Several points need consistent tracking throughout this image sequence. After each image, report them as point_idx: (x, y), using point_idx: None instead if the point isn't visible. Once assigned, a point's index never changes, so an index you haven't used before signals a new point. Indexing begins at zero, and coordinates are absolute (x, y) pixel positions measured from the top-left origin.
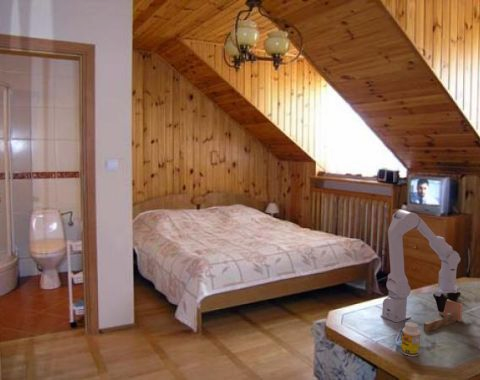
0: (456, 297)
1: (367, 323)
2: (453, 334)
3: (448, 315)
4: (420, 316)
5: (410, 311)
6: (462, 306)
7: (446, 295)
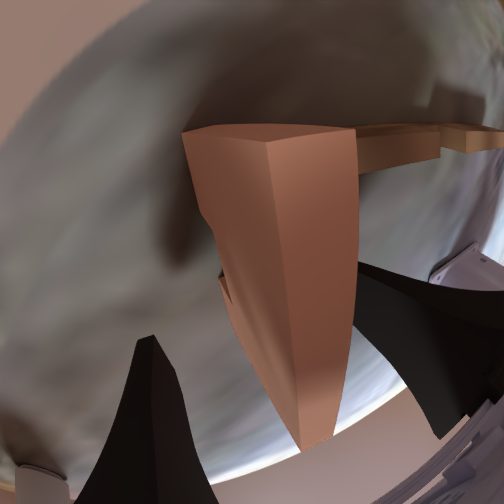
0: (157, 480)
1: (494, 253)
2: (429, 28)
3: (394, 158)
4: None
5: (361, 353)
6: (239, 136)
7: (40, 470)
